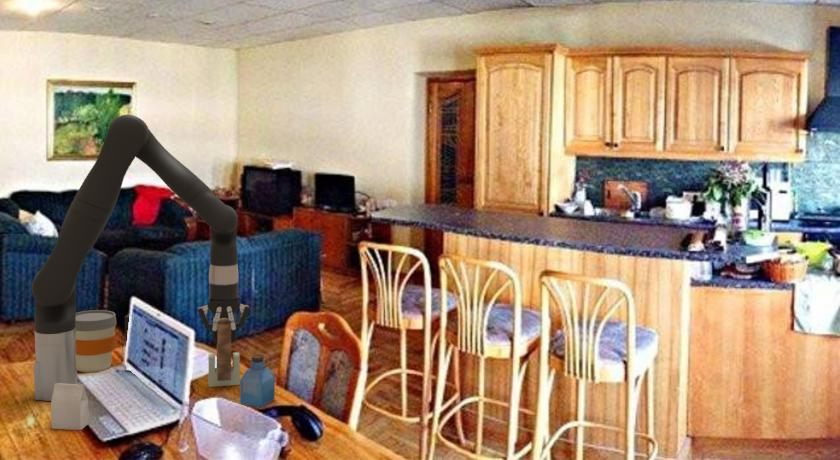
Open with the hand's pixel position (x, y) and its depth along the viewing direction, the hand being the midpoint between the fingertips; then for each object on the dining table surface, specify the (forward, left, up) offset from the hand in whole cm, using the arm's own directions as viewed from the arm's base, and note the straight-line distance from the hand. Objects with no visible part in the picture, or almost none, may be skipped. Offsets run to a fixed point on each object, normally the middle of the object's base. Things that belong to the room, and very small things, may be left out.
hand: (223, 342), depth 195 cm
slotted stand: (0, 0, -11) cm, 11 cm away
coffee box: (-21, +16, -12) cm, 29 cm away
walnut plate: (0, 0, -9) cm, 9 cm away
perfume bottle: (+8, -15, -12) cm, 20 cm away
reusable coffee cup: (-35, +21, -12) cm, 42 cm away
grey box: (-35, -21, -12) cm, 42 cm away
